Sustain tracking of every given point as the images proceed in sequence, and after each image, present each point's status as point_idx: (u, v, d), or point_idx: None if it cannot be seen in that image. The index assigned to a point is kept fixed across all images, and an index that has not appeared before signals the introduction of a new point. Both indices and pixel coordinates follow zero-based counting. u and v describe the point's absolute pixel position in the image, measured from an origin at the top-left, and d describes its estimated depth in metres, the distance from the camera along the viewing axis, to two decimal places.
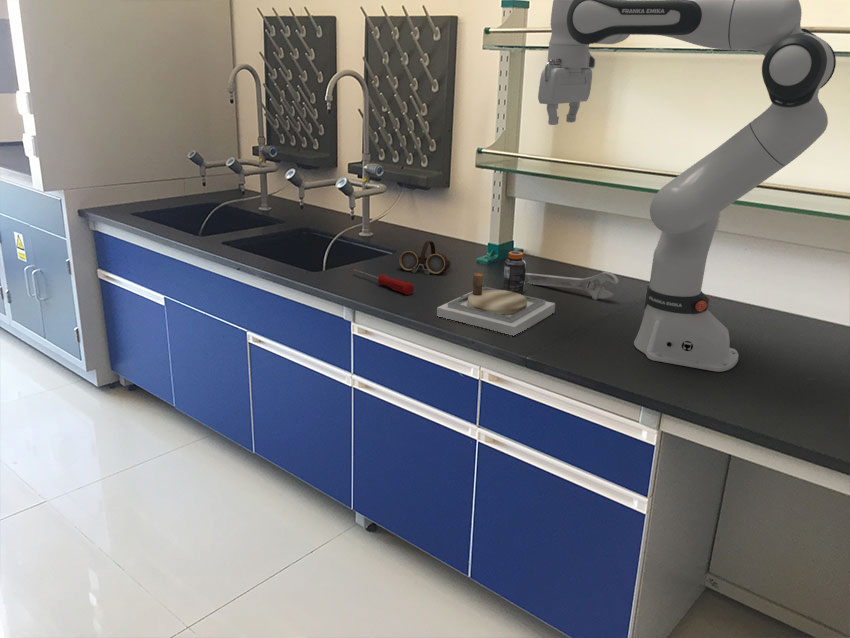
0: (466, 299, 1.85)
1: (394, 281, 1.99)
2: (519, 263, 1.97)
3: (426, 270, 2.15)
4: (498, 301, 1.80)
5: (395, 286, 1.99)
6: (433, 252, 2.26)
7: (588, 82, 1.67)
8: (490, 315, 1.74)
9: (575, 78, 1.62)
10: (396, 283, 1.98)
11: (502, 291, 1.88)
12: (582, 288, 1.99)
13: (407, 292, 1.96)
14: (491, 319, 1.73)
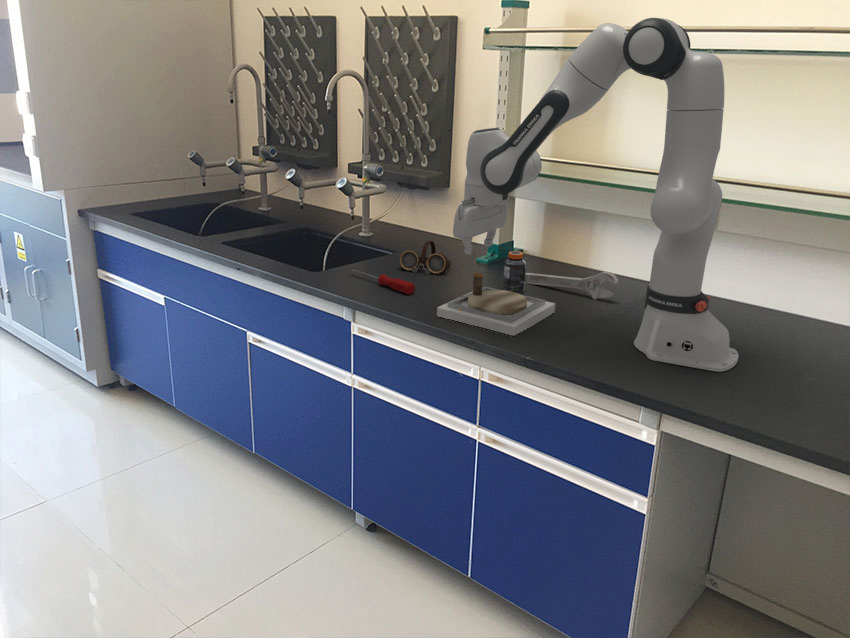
0: (466, 299, 1.85)
1: (395, 281, 1.99)
2: (519, 263, 1.97)
3: (426, 270, 2.16)
4: (498, 301, 1.80)
5: (396, 286, 1.99)
6: (433, 252, 2.26)
7: (503, 211, 1.84)
8: (490, 315, 1.74)
9: (489, 211, 1.79)
10: (397, 283, 1.98)
11: (502, 291, 1.88)
12: (582, 288, 1.99)
13: (408, 292, 1.96)
14: (491, 319, 1.73)
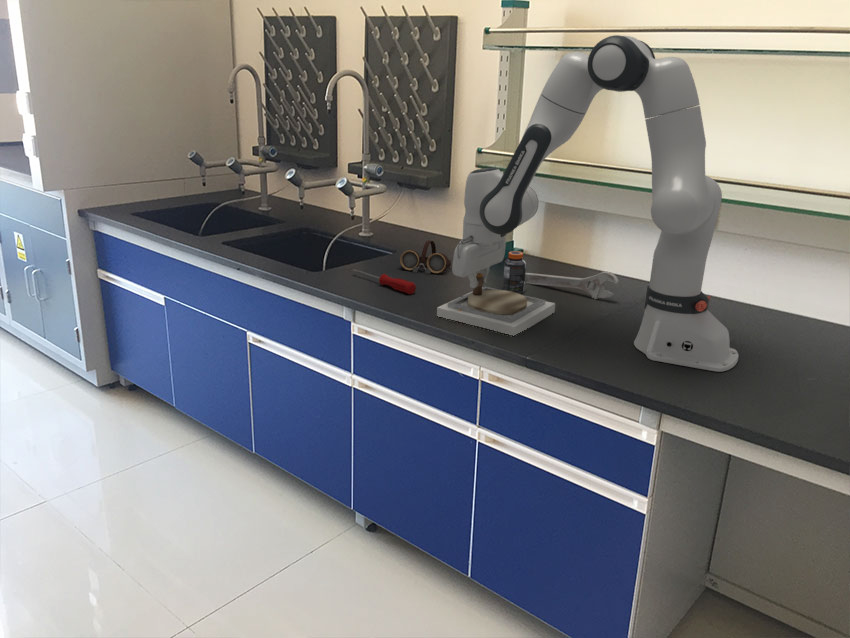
0: (466, 299, 1.85)
1: (396, 281, 1.99)
2: (519, 263, 1.97)
3: (427, 269, 2.16)
4: (498, 301, 1.80)
5: (397, 286, 1.99)
6: (434, 252, 2.27)
7: (502, 247, 1.87)
8: (490, 315, 1.74)
9: (488, 248, 1.82)
10: (398, 283, 1.99)
11: (502, 291, 1.88)
12: (582, 288, 1.99)
13: (409, 291, 1.97)
14: (491, 319, 1.73)
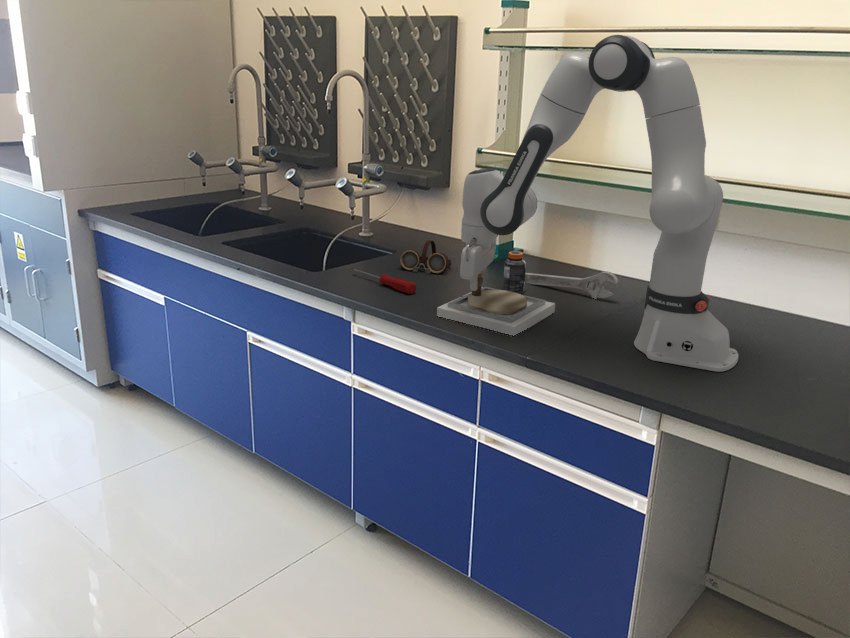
0: (466, 299, 1.85)
1: (396, 281, 1.99)
2: (519, 263, 1.97)
3: (427, 269, 2.16)
4: (499, 301, 1.80)
5: (397, 285, 1.99)
6: (434, 251, 2.27)
7: (493, 246, 1.87)
8: (490, 315, 1.74)
9: None
10: (398, 283, 1.99)
11: (500, 290, 1.89)
12: (582, 288, 1.99)
13: (410, 291, 1.97)
14: (491, 319, 1.73)
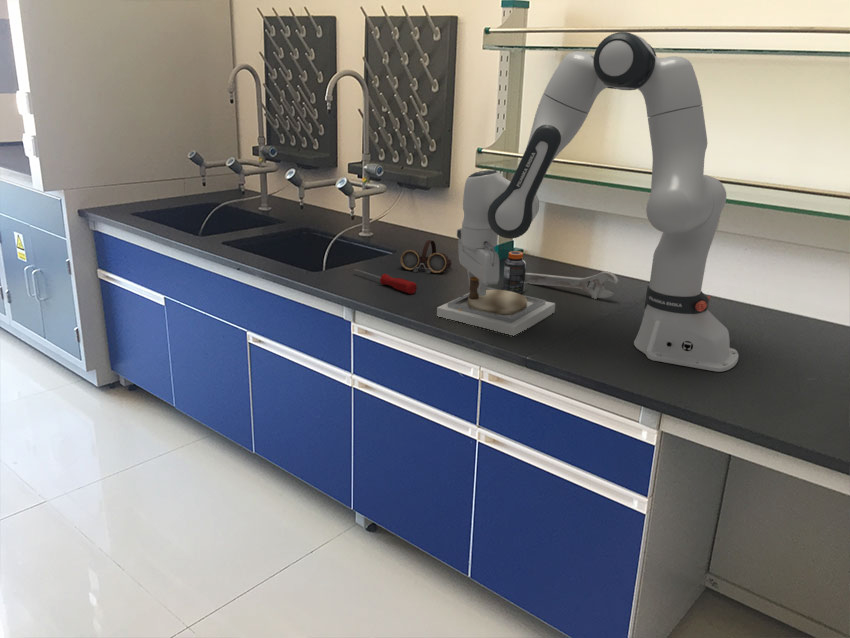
0: (466, 299, 1.85)
1: (397, 280, 2.00)
2: (519, 263, 1.97)
3: (427, 269, 2.16)
4: (503, 301, 1.81)
5: (397, 285, 2.00)
6: (434, 251, 2.27)
7: None
8: (490, 315, 1.74)
9: None
10: (399, 282, 1.99)
11: (487, 290, 1.88)
12: (582, 288, 1.99)
13: (410, 291, 1.97)
14: (491, 319, 1.73)
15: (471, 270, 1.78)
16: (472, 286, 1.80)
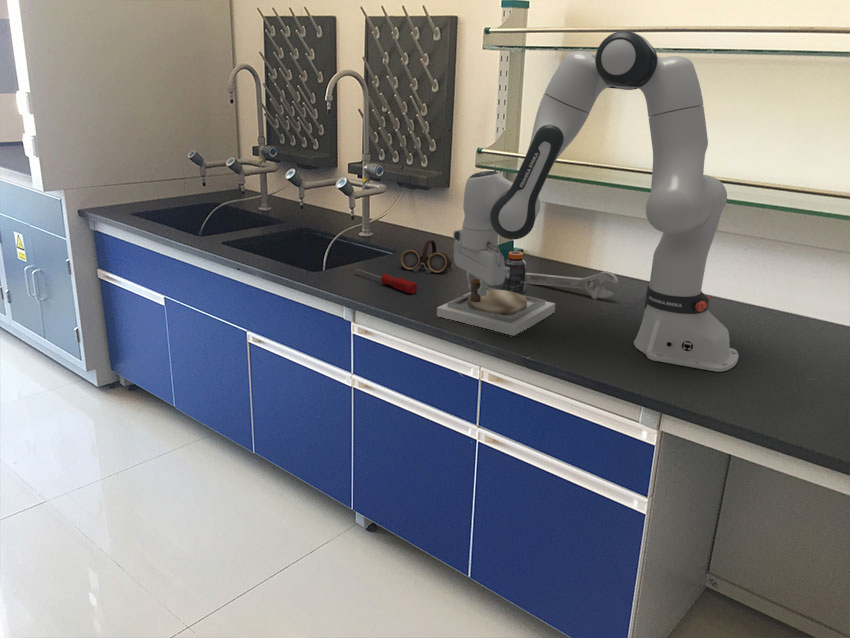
0: (466, 299, 1.85)
1: (397, 280, 2.00)
2: (519, 263, 1.97)
3: (428, 269, 2.17)
4: (505, 300, 1.81)
5: (398, 285, 2.00)
6: (434, 251, 2.27)
7: None
8: (490, 315, 1.74)
9: None
10: (399, 282, 1.99)
11: None
12: (582, 287, 1.99)
13: (411, 291, 1.97)
14: (491, 319, 1.73)
15: (472, 272, 1.77)
16: (475, 289, 1.78)
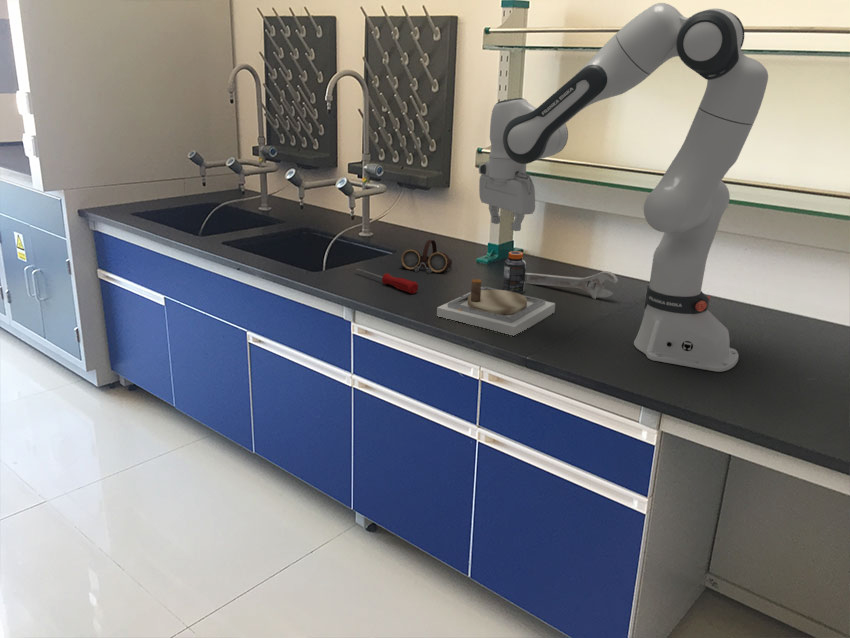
0: (466, 299, 1.85)
1: (398, 280, 2.00)
2: (519, 263, 1.97)
3: (428, 269, 2.17)
4: (505, 300, 1.81)
5: (399, 285, 2.00)
6: (434, 251, 2.27)
7: None
8: (490, 315, 1.74)
9: None
10: (400, 282, 1.99)
11: None
12: (581, 287, 1.99)
13: (412, 291, 1.97)
14: (491, 319, 1.73)
15: (500, 204, 1.73)
16: (475, 289, 1.78)
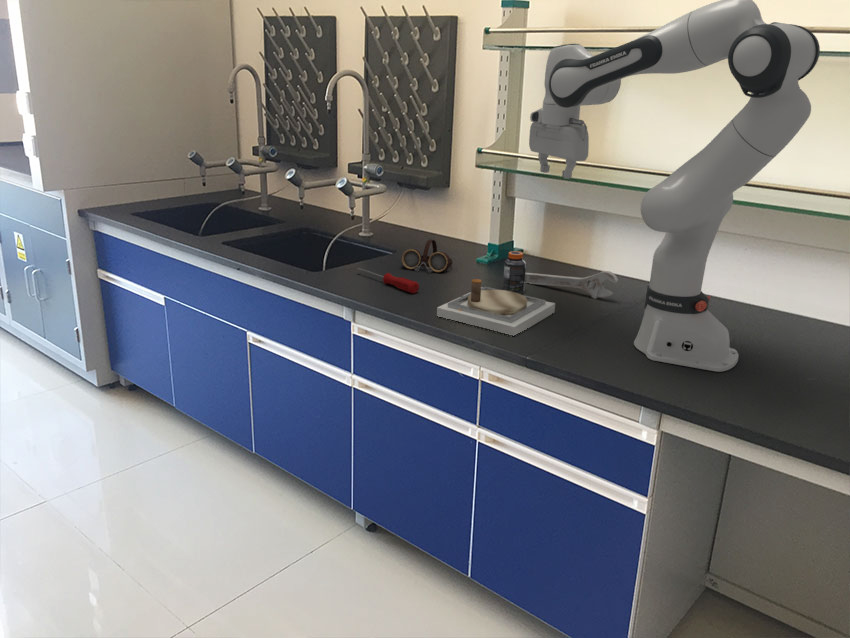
0: (466, 299, 1.85)
1: (399, 280, 2.00)
2: (519, 263, 1.97)
3: (428, 268, 2.17)
4: (505, 300, 1.81)
5: (400, 285, 2.00)
6: (435, 250, 2.28)
7: None
8: (490, 315, 1.74)
9: None
10: (401, 282, 1.99)
11: None
12: (581, 287, 1.99)
13: (412, 291, 1.97)
14: (491, 319, 1.73)
15: (551, 152, 1.73)
16: (475, 289, 1.78)
